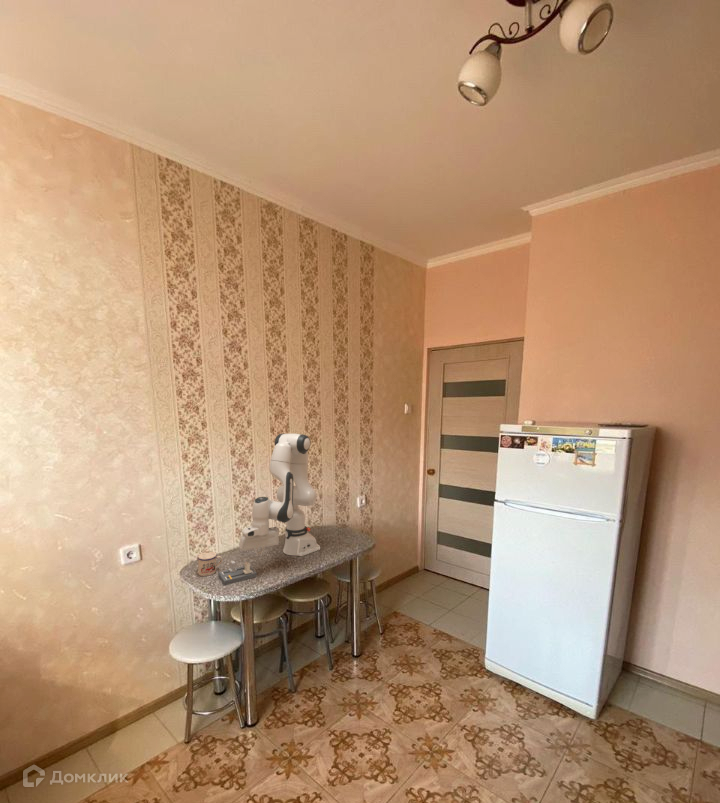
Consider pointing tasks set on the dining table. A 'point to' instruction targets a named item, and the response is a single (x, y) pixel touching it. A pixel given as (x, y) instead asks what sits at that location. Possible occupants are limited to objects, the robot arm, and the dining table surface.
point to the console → (235, 574)
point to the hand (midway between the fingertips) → (258, 556)
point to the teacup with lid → (207, 563)
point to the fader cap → (247, 568)
